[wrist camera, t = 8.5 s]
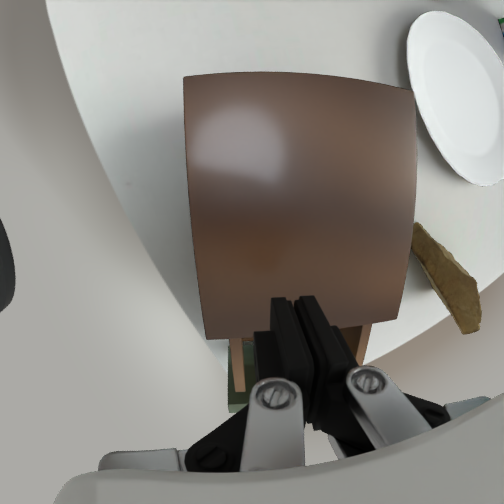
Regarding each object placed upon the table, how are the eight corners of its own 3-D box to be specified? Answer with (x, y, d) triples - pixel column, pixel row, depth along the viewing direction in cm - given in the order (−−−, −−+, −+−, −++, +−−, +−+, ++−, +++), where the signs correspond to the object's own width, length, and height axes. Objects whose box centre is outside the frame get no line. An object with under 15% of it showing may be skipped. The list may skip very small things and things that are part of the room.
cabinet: (348, 266, 25) (397, 319, 16) (215, 275, 25) (206, 340, 16) (351, 110, 21) (414, 91, 11) (204, 108, 20) (183, 76, 11)
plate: (478, 27, 16) (488, 24, 13) (517, 168, 22) (528, 170, 20) (364, 10, 17) (373, 1, 15) (425, 202, 24) (438, 207, 22)
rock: (387, 242, 22) (404, 331, 24) (477, 234, 15) (478, 338, 17) (419, 207, 28) (432, 280, 30) (482, 198, 21) (490, 279, 23)
